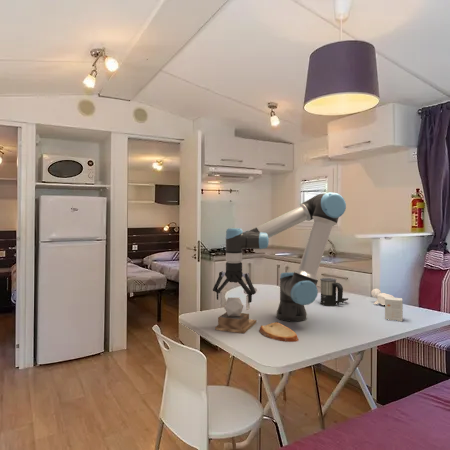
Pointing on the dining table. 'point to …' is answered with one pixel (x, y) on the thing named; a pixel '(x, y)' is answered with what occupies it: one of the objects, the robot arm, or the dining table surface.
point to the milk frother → (331, 292)
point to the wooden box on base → (235, 323)
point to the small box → (393, 308)
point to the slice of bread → (278, 332)
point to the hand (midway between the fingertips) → (233, 308)
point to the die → (233, 306)
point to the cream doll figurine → (380, 296)
